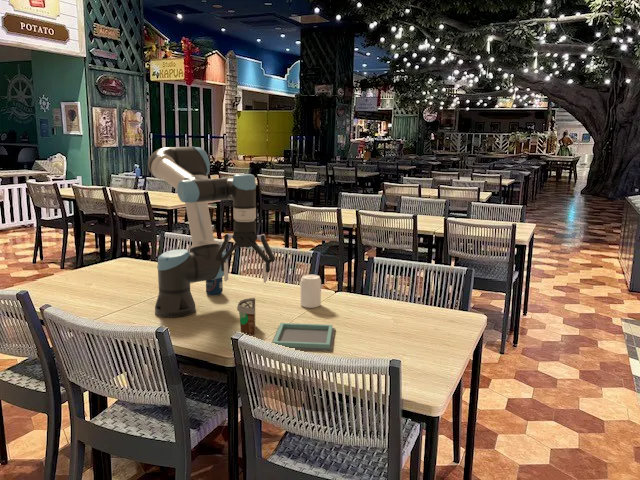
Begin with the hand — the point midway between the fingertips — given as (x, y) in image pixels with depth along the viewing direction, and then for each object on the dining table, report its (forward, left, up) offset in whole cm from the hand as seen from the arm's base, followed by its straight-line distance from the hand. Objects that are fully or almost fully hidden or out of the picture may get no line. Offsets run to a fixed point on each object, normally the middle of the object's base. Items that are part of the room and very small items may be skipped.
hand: (245, 280), depth 196 cm
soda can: (-22, +41, -18) cm, 50 cm away
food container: (0, 0, -18) cm, 18 cm away
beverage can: (+20, +30, -18) cm, 40 cm away
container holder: (+21, -6, -18) cm, 28 cm away
